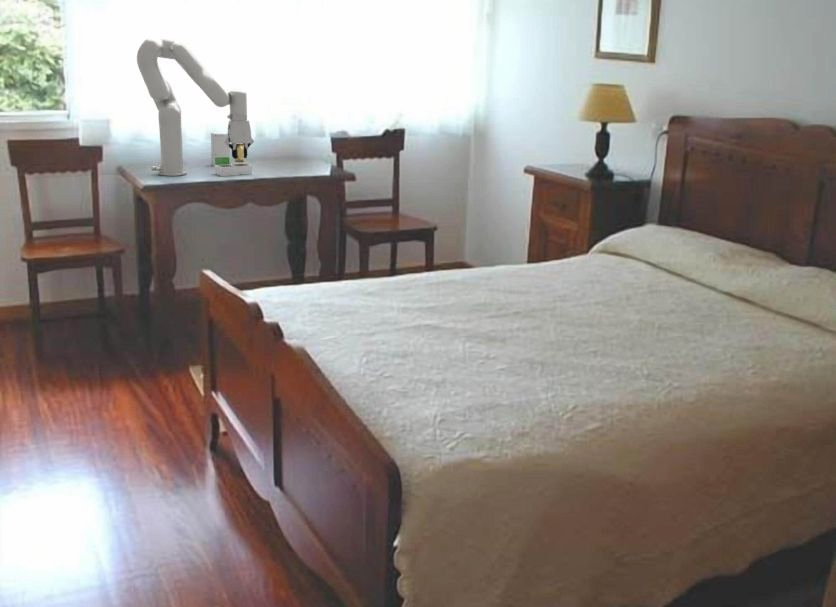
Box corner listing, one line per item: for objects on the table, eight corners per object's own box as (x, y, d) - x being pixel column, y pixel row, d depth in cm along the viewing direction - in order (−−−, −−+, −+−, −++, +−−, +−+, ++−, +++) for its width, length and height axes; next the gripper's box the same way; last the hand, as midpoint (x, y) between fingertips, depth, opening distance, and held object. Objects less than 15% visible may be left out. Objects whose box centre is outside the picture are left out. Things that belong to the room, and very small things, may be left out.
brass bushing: (237, 162, 424) (236, 144, 422) (233, 161, 428) (232, 143, 425) (246, 162, 427) (245, 144, 424) (242, 160, 430) (241, 143, 428)
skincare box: (214, 166, 447) (212, 133, 442) (211, 164, 452) (209, 132, 448) (231, 166, 450) (230, 133, 445) (228, 164, 456) (227, 131, 451)
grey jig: (221, 176, 420) (220, 167, 418) (214, 173, 426) (213, 164, 425) (251, 174, 428) (251, 165, 427) (244, 171, 434) (244, 162, 433)
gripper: (224, 119, 414) (225, 160, 419) (259, 117, 423) (260, 158, 428) (217, 117, 420) (219, 158, 425) (252, 116, 429) (253, 156, 434)
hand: (239, 157), depth 427 cm, fingers closed on brass bushing, 4 cm apart
